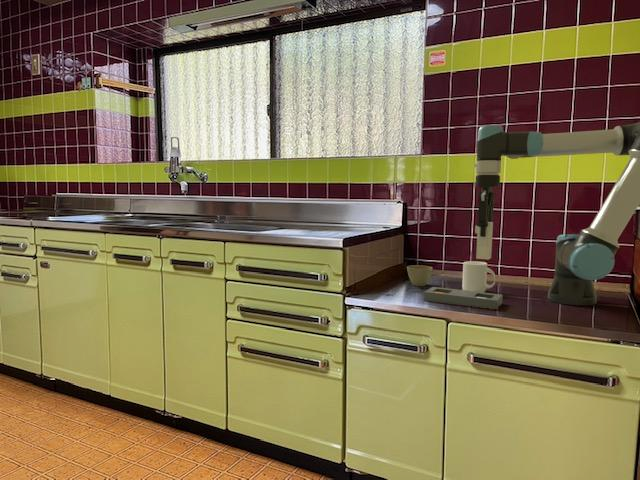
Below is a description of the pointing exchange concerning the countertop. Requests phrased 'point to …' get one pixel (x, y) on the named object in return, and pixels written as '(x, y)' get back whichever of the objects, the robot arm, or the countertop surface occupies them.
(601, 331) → the countertop surface
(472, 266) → the mug
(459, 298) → the panel
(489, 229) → the plug
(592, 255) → the robot arm
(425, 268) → the flower pot
